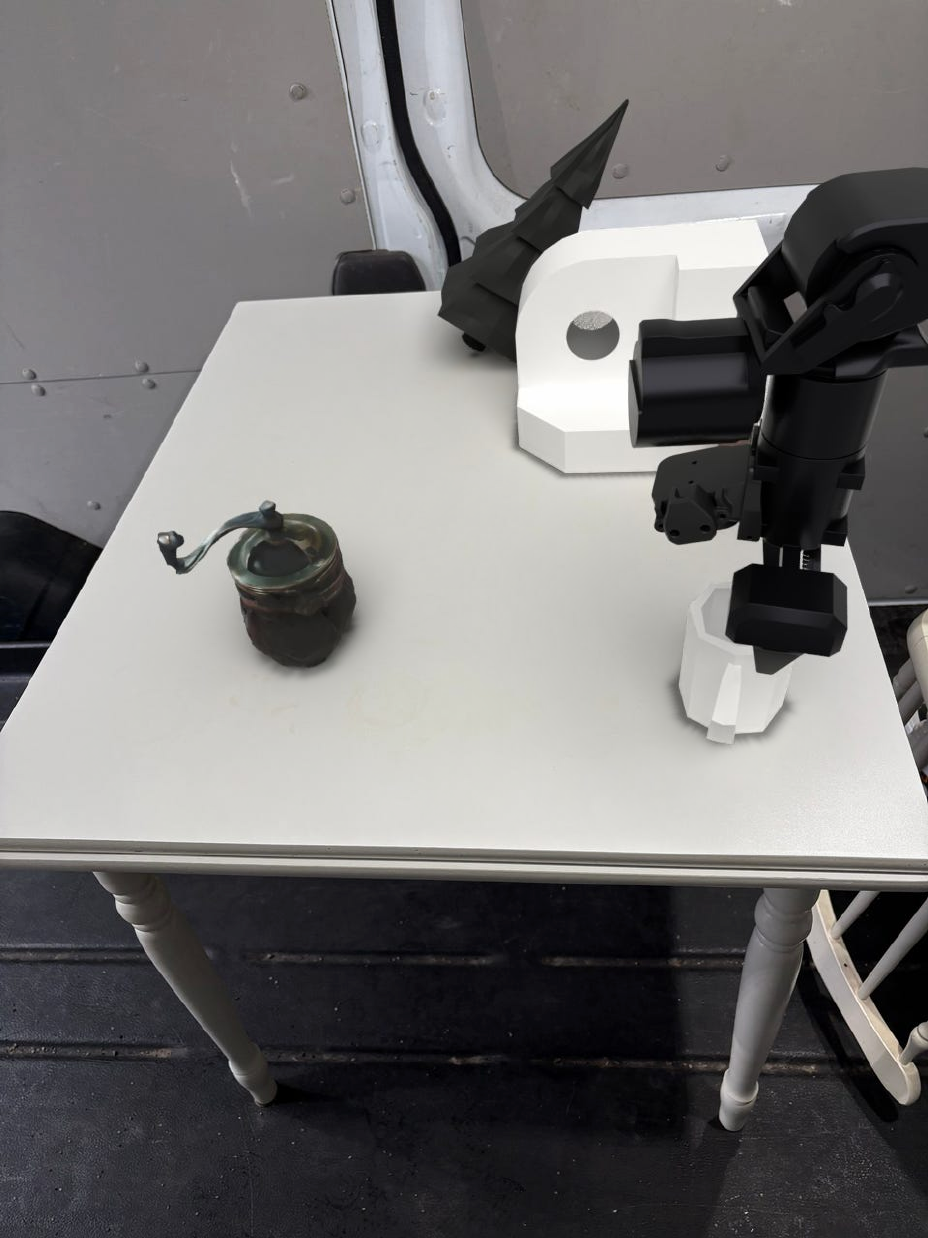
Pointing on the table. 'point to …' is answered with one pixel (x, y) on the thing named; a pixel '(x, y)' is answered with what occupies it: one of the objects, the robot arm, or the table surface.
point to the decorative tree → (523, 246)
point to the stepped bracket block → (615, 331)
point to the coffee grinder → (282, 581)
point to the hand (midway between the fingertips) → (768, 622)
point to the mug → (725, 674)
